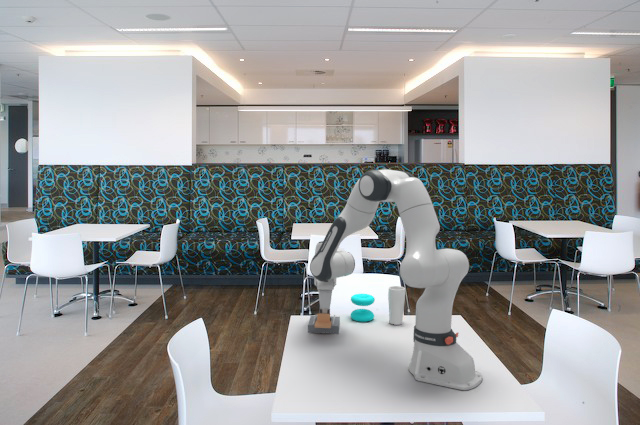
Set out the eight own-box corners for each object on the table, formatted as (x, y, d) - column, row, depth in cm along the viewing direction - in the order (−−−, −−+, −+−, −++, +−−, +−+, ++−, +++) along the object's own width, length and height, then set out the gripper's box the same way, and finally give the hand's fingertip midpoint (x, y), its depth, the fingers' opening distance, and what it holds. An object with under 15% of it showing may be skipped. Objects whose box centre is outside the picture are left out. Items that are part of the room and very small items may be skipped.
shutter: (331, 323, 196) (331, 313, 196) (330, 328, 190) (330, 318, 190) (315, 322, 197) (316, 313, 196) (314, 327, 191) (314, 317, 190)
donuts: (379, 295, 212) (365, 300, 204) (378, 318, 213) (365, 324, 205) (360, 291, 218) (346, 296, 211) (359, 314, 219) (345, 319, 212)
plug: (329, 325, 203) (329, 304, 202) (329, 328, 199) (329, 307, 198) (319, 325, 203) (319, 304, 202) (319, 328, 199) (319, 307, 198)
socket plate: (339, 323, 205) (339, 315, 205) (338, 333, 193) (338, 324, 193) (310, 322, 206) (310, 314, 206) (307, 332, 194) (307, 323, 194)
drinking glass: (405, 322, 208) (407, 287, 207) (401, 326, 202) (402, 290, 201) (390, 319, 211) (391, 285, 210) (385, 324, 205) (386, 288, 204)
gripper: (317, 274, 210) (317, 306, 211) (317, 286, 190) (316, 321, 191) (332, 274, 210) (332, 306, 211) (333, 286, 190) (333, 322, 191)
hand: (324, 313), depth 201 cm, fingers open, 7 cm apart
